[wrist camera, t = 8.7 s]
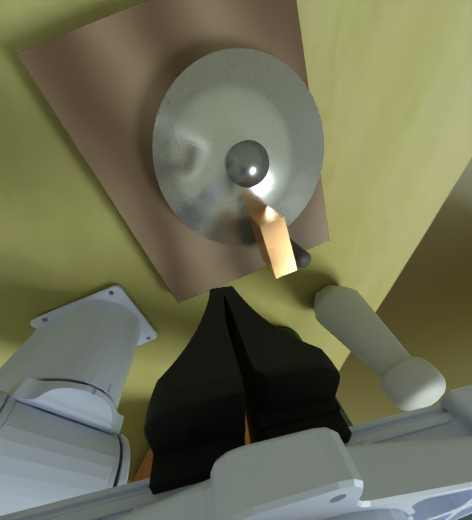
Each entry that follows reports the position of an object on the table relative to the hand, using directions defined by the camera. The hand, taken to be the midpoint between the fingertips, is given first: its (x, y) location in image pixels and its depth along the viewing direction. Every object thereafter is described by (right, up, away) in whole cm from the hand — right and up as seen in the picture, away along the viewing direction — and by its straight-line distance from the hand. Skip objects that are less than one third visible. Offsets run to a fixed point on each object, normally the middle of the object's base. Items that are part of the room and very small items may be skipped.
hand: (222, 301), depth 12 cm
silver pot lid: (+2, +9, +4) cm, 11 cm away
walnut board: (-1, +10, +5) cm, 12 cm away
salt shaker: (+13, -2, +15) cm, 20 cm away
